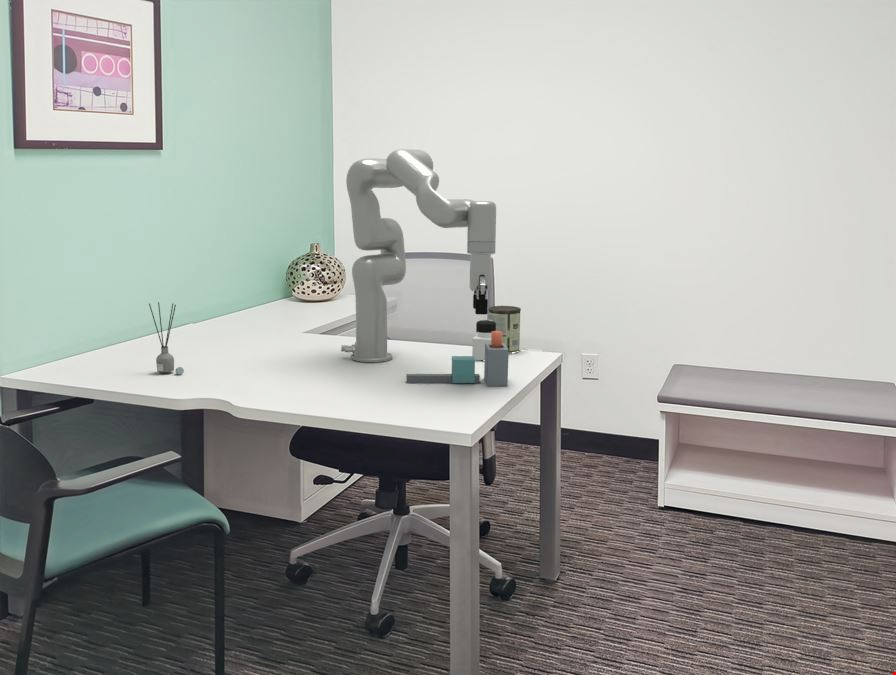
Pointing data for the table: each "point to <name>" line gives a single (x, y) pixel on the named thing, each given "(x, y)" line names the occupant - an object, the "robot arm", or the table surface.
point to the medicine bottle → (482, 338)
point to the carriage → (463, 369)
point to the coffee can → (507, 325)
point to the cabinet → (496, 365)
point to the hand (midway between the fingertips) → (480, 311)
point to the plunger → (496, 339)
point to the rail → (433, 378)
